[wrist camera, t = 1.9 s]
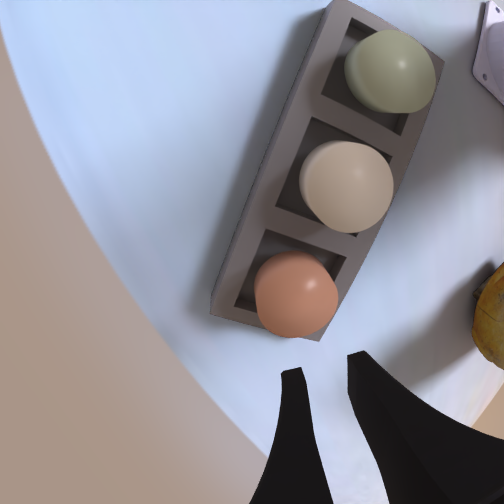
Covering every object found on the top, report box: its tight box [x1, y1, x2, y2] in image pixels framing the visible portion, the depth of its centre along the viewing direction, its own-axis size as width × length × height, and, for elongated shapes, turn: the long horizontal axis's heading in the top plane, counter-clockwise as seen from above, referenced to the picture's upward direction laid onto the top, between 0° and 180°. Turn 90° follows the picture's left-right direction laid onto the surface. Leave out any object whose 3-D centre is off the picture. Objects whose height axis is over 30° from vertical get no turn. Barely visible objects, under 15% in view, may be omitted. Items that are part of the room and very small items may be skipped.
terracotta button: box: [254, 250, 338, 338], centre depth 16 cm, size 4×4×2 cm
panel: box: [210, 0, 444, 342], centre depth 16 cm, size 7×19×2 cm, turn 159°
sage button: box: [344, 30, 436, 113], centre depth 12 cm, size 4×4×2 cm
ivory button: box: [299, 140, 393, 233], centre depth 14 cm, size 4×4×2 cm
